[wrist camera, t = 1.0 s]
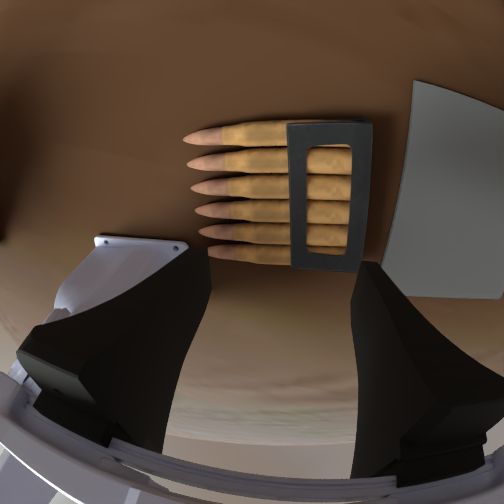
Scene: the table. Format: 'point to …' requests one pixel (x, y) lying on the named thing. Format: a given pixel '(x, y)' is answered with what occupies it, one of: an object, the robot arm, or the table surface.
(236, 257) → the ammunition clip
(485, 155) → the mat
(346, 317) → the table surface
